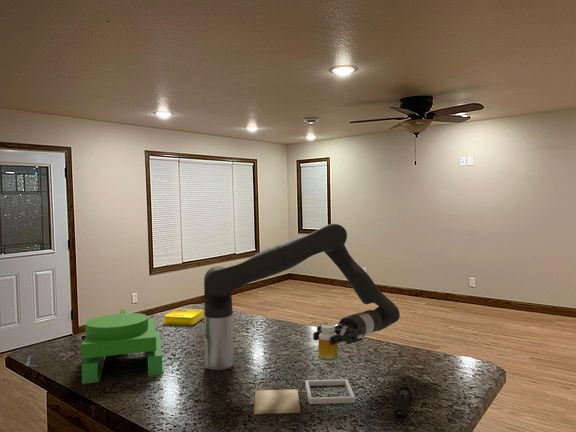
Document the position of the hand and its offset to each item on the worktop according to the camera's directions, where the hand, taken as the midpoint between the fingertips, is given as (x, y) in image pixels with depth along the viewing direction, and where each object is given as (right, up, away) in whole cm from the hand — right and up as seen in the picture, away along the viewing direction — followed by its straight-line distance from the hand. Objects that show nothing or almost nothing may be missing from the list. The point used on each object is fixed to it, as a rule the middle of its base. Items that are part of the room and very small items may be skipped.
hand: (322, 338), depth 122 cm
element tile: (-59, -16, +83) cm, 103 cm away
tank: (-67, -17, +31) cm, 75 cm away
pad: (-13, -16, -3) cm, 21 cm away
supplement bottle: (+2, -7, +2) cm, 7 cm away
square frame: (+2, -16, +2) cm, 17 cm away
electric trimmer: (+21, -17, -6) cm, 28 cm away
